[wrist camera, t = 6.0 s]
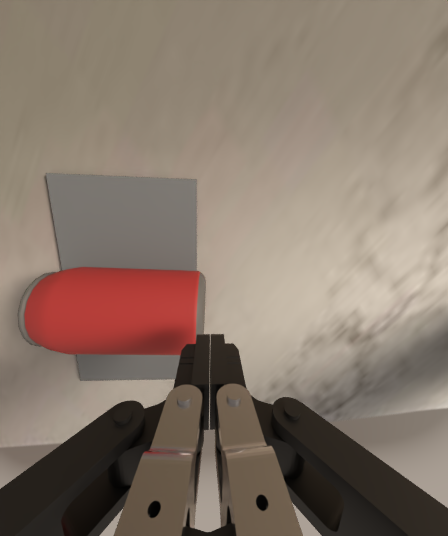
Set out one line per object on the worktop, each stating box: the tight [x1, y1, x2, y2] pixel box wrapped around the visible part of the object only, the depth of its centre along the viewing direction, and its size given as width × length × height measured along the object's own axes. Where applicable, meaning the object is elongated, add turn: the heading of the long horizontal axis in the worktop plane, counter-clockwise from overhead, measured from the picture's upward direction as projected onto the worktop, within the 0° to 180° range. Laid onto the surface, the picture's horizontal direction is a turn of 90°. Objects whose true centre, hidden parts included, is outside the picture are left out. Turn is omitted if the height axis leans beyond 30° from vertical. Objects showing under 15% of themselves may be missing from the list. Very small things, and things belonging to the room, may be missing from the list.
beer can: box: [18, 267, 206, 355], centre depth 17 cm, size 7×7×12 cm
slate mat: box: [46, 173, 197, 381], centre depth 20 cm, size 12×20×1 cm, turn 178°
